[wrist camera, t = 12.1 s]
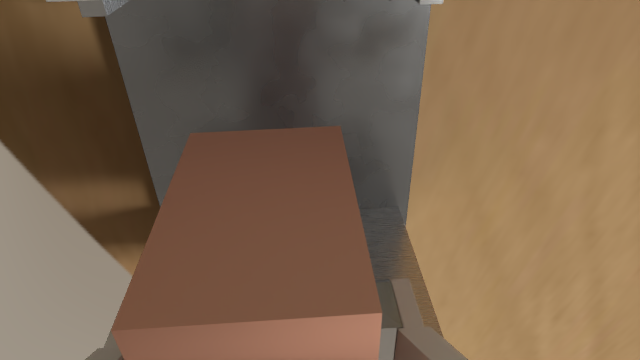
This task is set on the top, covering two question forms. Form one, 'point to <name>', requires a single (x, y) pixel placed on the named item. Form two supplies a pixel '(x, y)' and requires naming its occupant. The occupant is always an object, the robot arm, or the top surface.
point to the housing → (255, 255)
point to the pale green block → (63, 0)
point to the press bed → (285, 91)
